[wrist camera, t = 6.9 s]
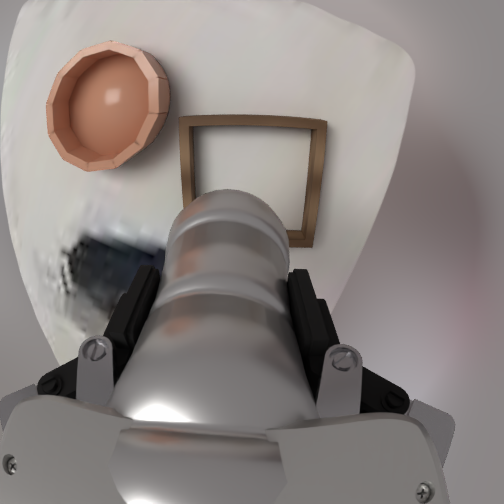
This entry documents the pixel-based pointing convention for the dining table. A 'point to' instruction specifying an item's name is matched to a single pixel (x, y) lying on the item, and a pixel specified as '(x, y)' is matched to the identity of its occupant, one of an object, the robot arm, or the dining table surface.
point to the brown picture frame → (316, 125)
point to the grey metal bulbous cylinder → (213, 363)
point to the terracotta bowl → (107, 105)
